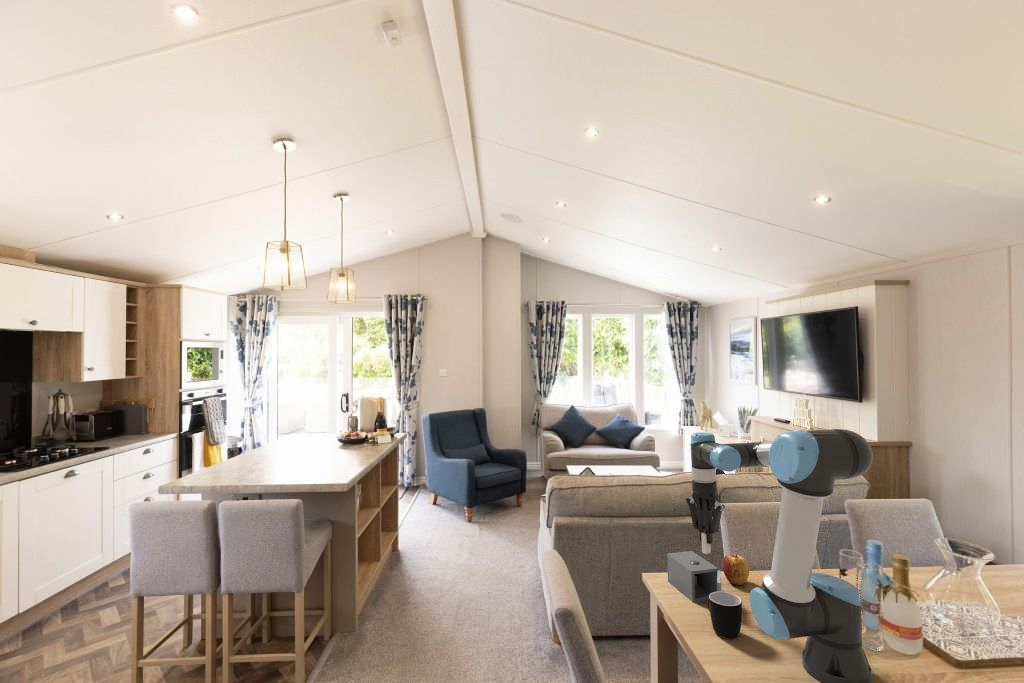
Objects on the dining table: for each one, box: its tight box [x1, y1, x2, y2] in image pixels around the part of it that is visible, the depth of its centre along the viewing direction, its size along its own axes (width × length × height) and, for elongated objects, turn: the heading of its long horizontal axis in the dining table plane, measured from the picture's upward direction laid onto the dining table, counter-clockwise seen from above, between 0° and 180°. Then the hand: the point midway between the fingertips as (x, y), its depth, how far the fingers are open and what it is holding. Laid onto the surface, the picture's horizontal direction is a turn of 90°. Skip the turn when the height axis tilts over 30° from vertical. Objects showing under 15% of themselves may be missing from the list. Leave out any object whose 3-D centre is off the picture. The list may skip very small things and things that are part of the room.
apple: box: [721, 553, 750, 586], centre depth 180 cm, size 9×9×10 cm
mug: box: [707, 591, 743, 640], centre depth 148 cm, size 12×9×10 cm
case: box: [666, 550, 719, 603], centre depth 175 cm, size 16×10×10 cm, turn 12°
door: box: [717, 569, 723, 592], centre depth 163 cm, size 2×10×9 cm, turn 156°
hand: (706, 552), depth 164 cm, fingers closed
